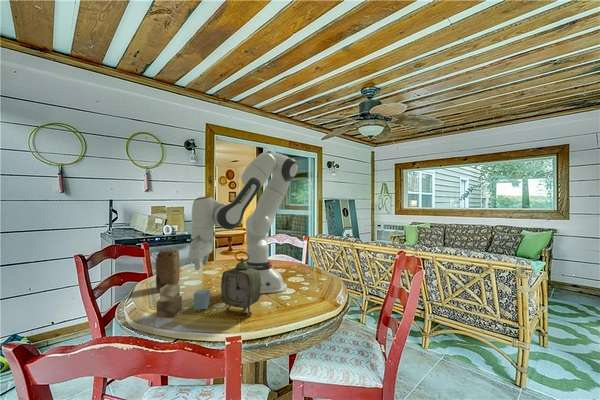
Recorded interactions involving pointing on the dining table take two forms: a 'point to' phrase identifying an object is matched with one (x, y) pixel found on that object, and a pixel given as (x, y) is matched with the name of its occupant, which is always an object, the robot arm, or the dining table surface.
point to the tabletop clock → (241, 285)
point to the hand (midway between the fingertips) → (201, 266)
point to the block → (167, 267)
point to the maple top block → (169, 292)
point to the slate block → (201, 299)
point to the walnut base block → (169, 307)
